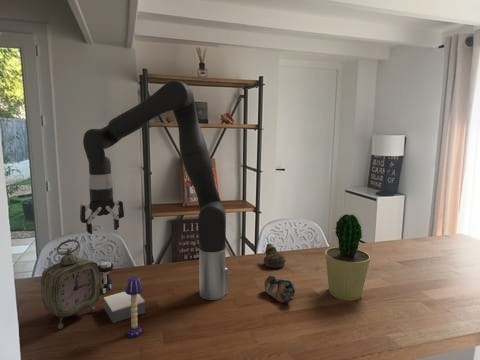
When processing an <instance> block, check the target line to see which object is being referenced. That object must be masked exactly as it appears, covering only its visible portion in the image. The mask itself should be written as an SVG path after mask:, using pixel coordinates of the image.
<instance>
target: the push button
mask: <svg viewBox="0 0 480 360" xmlns="http://www.w3.org/2000/svg"><path fill="white" fill-rule="evenodd" d="M98 267H99V272H100V273H101V274H102V276H103V277H102V279H101V283H102V284H101V290H102V293H103V294H105V293H108V292H109V290H110V289H111V290H112V287H113V284H112V283H113V280H112V278H110V272H111V271H113V270H114V268H113V267H114V263H112V262H111V261H101V262H100V264H99V265H98ZM109 288H110V289H109Z"/></svg>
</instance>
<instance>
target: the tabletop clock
mask: <svg viewBox="0 0 480 360" xmlns="http://www.w3.org/2000/svg"><path fill="white" fill-rule="evenodd" d="M73 242H75V243H77V247H75V248H74V249H71V248H68V249H66V251H65V252H60V251H59V249H60V248H61V247H62V246H63V245H65V244H68V243H73ZM79 248H80V242H79V240H77V239H68V240H67V239H66V240H65V241H62V242H61V243H59V245H58V246H57V248H56V252H57V254H58V255H61V256H62V257H61V258H60V260H59V262H57V263H55V264H53V265H50V266H48V267H46V268H45V269H44V270H43V271H42V274H41V281H40V292H41V293H40V295H41V300H42V304H43V307H44V309H45V310H46V312H49V313H51V314H52V315H54V316H56V317H58V318H59V323H57V327H56V328H57V329H58V330H62V329H63V327H64V324H63V319H64V318H68V317H70V316H73V315H75V314H78V313H80V312H82V311H84V310H86V309H88V308H89V309H90V312H91V313H95V312H96V310H97V308H96V307H95V306H93V305H94V304H96V302H97V301H99V298H100V296H101V283H102V279H101V275H100V273H101V272H99V267H98V266H99V265H98V263H97V261H96V262H95V261H92V260H89V259H87V258H83V257H78V255H76V254H74V253H75V252H76V251H77V250H78V249H79Z"/></svg>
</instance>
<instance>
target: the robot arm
mask: <svg viewBox="0 0 480 360" xmlns="http://www.w3.org/2000/svg"><path fill="white" fill-rule="evenodd" d="M195 102H196V101H195V96H194V93H193V90H192V88H191V87H190V85H188V84H187V83H185V82H183V81H181V80H178V79H177V80H169V81H168V82H166V83H165V84H163V85H162V86H161V87H160V88H159V89H157V90H156V91H155V92H154V93H153V94H151V95H150V96H148V97H147V98H146V99H144V100H143V101H141V102H140V103H138V104H137V105H135V106H133V107H132V108H130V109H128V110H126V111H124V112H122V113H121V114H119V115H117V116H116V117H114V118H112V119H111V120H109V122H108V124H107V125H105V126H104V127H102V128H90V129H88V130H86V131H85V132H84V134H83V140H82V144H83V148H84V152H85V155H86V158H87V161H88V174H89V176H88V177H89V178H88V188H89V189H88V190H89V204H80V206H79V221H80V222H81V223H82V224H86V225H85V227H86V232H87V233H88V234H89V235H92V234H93V224H92V222H93V221H94V219H96V217H97V216H98V217H102V216H108V215H109V214H110V215H111V217H113V220H112V221H113V230H114V231H117V230H118V229H119V227H120V219H121V218H122V219H123V218H124V217H125V212H124V211H125V210H124V203H123V201H121V200H117V201H114V190H113V189H114V187H113V176H112V164H111V163H112V161H111V159H110V158H109V157H108V156H106V153H105V149H110V148H111V147H113V146H114V145H116V144H117V143H119V142H120V141H121V140H122V139H123V138H126V137H127V136H129V135H131V134H133V133H135V132H136V131H138V130H140V129H141V128H142V127H144V126H145V125H146V124H147V123H148V122H151V121H152V120H153V119H155V118H156V117H158V116H160V115H162V114H164V113H167V112H170V111H172V113H173V115H174V118H175V121H176V123H177V128H178V144H179V152H180V156H181V160H182V163H183V167H184V170H185V171H186V174H187V176H188V179H189V180H190V183H191V184H192V186H193V189H194V191H195V194H196V198H197V202H198V208H199V214H198V217H197V218H198V221H197V222H198V223H197V227H198V230H197V231H198V244H199V245H198V248H199V249H198V253H199V255H198V258H199V260H198V261H199V262H198V263H199V270H198V271H199V272H198V273H199V277H198V278H199V280H198V281H199V296H200V298H202V299H204V300H207V301H216V300H220V299H223V298H224V297H225V295H228V293H229V290H228V284H229V283H228V282H229V279H228V277H229V275H228V274H229V269H228V268H227V267H226V249H227V248H226V242H227V240H226V236H227V235H226V232H227V229H226V227H227V221H226V220H227V218H226V214H227V213H226V210H225V207H224V204H223V202H222V200H221V197H220V195H219V191H218V189H217V187H216V181H215V175H214V174H215V173H214V169H213V166H212V165H213V164H212V160H211V156H210V153H209V149H208V146H207V143H206V140H205V137H204V133H203V131H202V128H201V126H200V122H199V118H198V113H197V109H196V103H195ZM115 206H116V207H117V210H118V211H117V212H118V213H117V214H116V212H115V211H114V210H113V209H114V207H115ZM88 210H90V211H91V212H90V213H89V215H88V217H87V218H86V213H87V212H88Z"/></svg>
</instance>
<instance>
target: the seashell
mask: <svg viewBox="0 0 480 360" xmlns="http://www.w3.org/2000/svg"><path fill="white" fill-rule="evenodd" d="M264 254H265V256H264V258H263V263H264V265H265V266H266V267H268V268H270V269H281V268H283V267H284V266H285V263H286V259H285V254H284V253H282V252H281V251H278V250H277V248H276V247H275V246H274V245H273V244H271V243H267V244H266V247H265V252H264Z"/></svg>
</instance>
